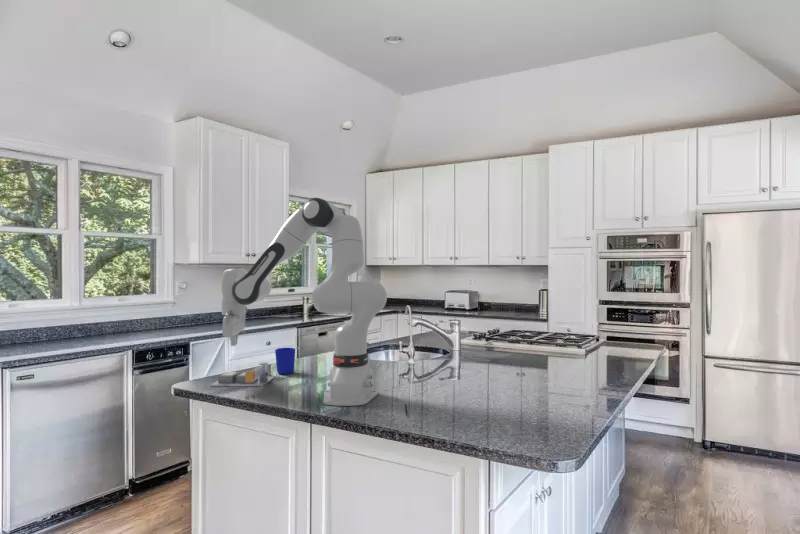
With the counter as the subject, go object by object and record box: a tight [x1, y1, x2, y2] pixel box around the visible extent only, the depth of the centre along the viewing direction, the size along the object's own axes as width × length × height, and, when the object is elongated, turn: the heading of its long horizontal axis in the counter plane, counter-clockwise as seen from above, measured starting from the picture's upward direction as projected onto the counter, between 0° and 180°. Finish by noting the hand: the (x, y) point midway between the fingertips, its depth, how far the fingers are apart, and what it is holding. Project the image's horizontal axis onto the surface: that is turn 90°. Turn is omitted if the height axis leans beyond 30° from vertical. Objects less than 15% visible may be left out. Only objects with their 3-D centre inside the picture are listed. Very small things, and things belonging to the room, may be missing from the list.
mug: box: [274, 347, 296, 375], centre depth 216 cm, size 8×12×10 cm
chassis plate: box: [210, 371, 275, 387], centre depth 199 cm, size 14×20×4 cm
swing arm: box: [244, 362, 269, 382], centre depth 190 cm, size 3×19×4 cm, turn 179°
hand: (234, 345), depth 199 cm, fingers closed
